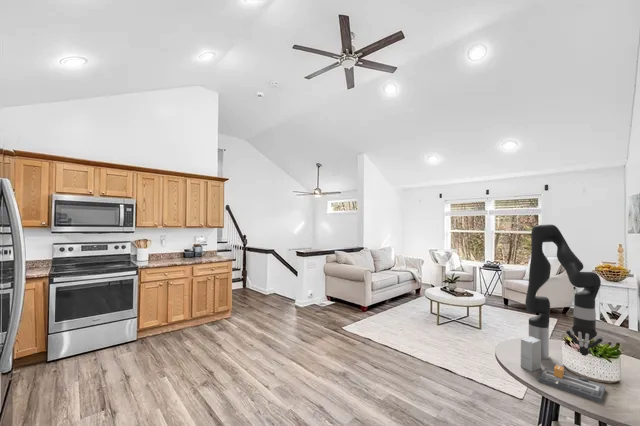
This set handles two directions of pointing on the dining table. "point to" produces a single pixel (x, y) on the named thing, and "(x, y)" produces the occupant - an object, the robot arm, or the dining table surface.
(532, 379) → the dining table surface
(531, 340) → the skincare box
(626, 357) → the dining table surface
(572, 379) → the console
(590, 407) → the dining table surface
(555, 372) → the fader knob
